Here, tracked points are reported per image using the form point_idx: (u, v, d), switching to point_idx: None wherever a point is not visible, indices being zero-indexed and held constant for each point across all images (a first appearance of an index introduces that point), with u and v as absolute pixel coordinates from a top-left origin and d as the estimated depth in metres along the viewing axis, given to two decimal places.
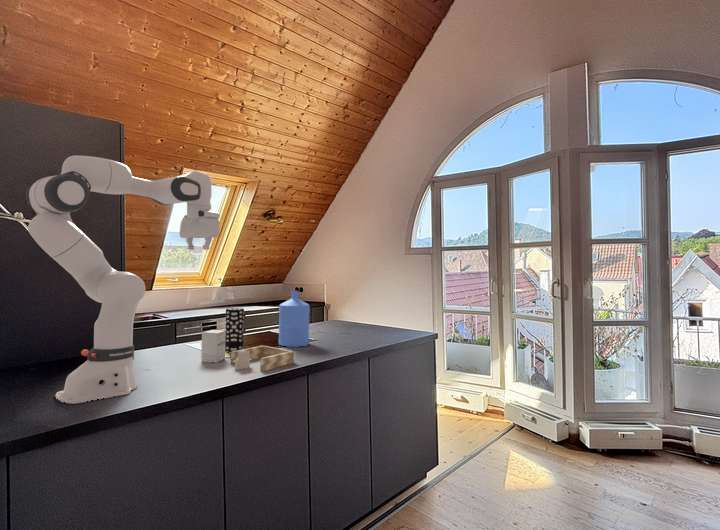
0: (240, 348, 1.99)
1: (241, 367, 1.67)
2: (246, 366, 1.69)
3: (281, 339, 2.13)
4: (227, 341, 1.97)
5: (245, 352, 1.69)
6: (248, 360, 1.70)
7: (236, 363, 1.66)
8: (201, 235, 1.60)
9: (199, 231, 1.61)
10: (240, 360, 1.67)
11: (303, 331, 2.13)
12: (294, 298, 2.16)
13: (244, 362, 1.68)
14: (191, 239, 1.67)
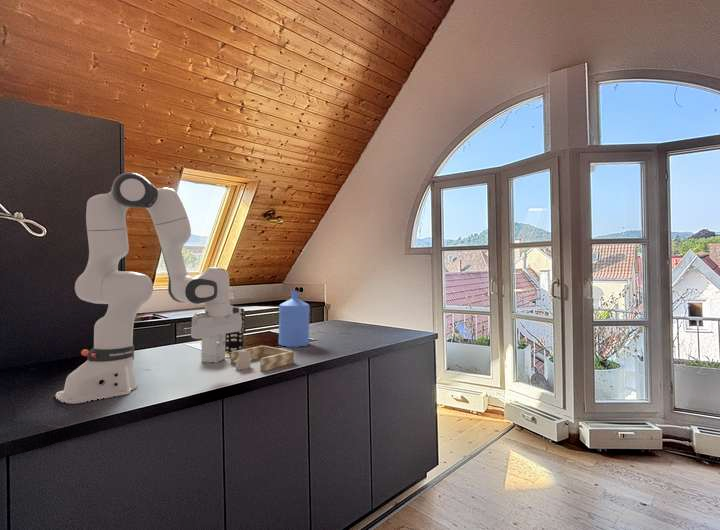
0: (240, 348, 1.99)
1: (242, 367, 1.67)
2: (247, 366, 1.69)
3: (281, 339, 2.13)
4: (227, 341, 1.97)
5: (246, 352, 1.69)
6: (249, 360, 1.70)
7: (237, 363, 1.66)
8: (229, 331, 1.61)
9: (226, 327, 1.60)
10: (241, 360, 1.67)
11: (303, 331, 2.13)
12: (294, 298, 2.16)
13: (245, 362, 1.68)
14: None
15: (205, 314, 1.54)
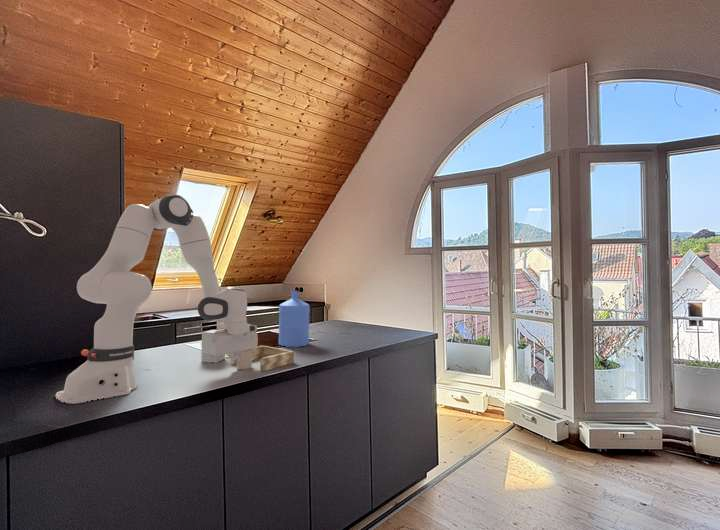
0: None
1: (243, 367, 1.67)
2: (248, 366, 1.69)
3: (281, 339, 2.13)
4: None
5: (247, 352, 1.69)
6: (250, 360, 1.70)
7: (238, 363, 1.67)
8: (246, 348, 1.68)
9: (243, 345, 1.67)
10: (242, 360, 1.67)
11: (303, 331, 2.13)
12: (294, 298, 2.16)
13: (246, 362, 1.69)
14: None
15: (224, 332, 1.61)
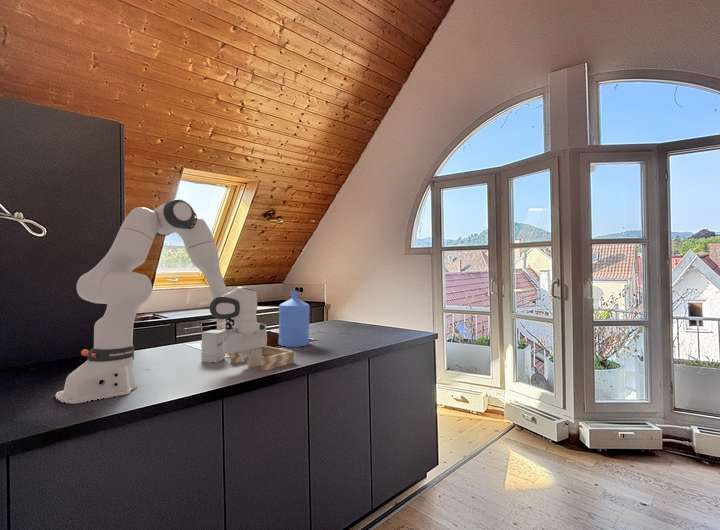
0: None
1: (253, 364, 1.72)
2: (258, 364, 1.73)
3: (281, 339, 2.13)
4: None
5: (257, 350, 1.73)
6: (260, 358, 1.74)
7: None
8: (256, 346, 1.72)
9: (253, 343, 1.71)
10: (252, 358, 1.71)
11: (303, 331, 2.13)
12: (294, 298, 2.16)
13: (256, 360, 1.73)
14: None
15: (235, 330, 1.65)
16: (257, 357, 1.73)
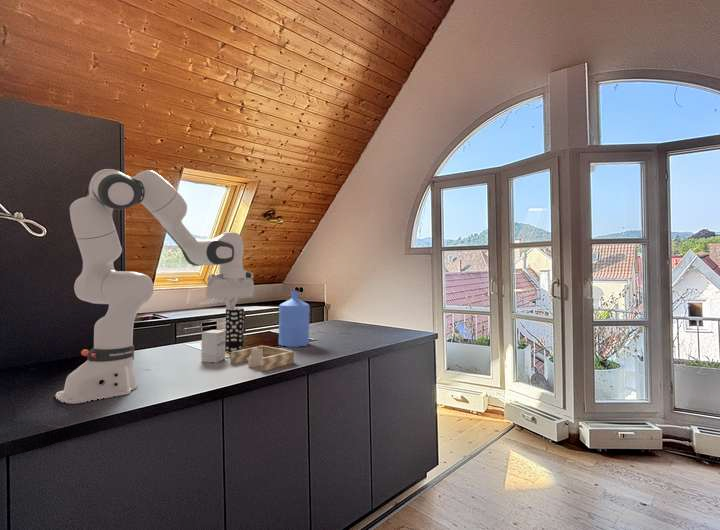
0: (240, 348, 1.99)
1: (254, 364, 1.72)
2: (259, 364, 1.73)
3: (281, 339, 2.13)
4: (227, 341, 1.97)
5: (258, 350, 1.73)
6: None
7: (249, 361, 1.71)
8: (242, 295, 1.67)
9: (239, 291, 1.66)
10: (253, 358, 1.71)
11: (303, 331, 2.13)
12: (294, 298, 2.16)
13: (257, 360, 1.73)
14: None
15: (220, 276, 1.60)
16: (258, 357, 1.73)
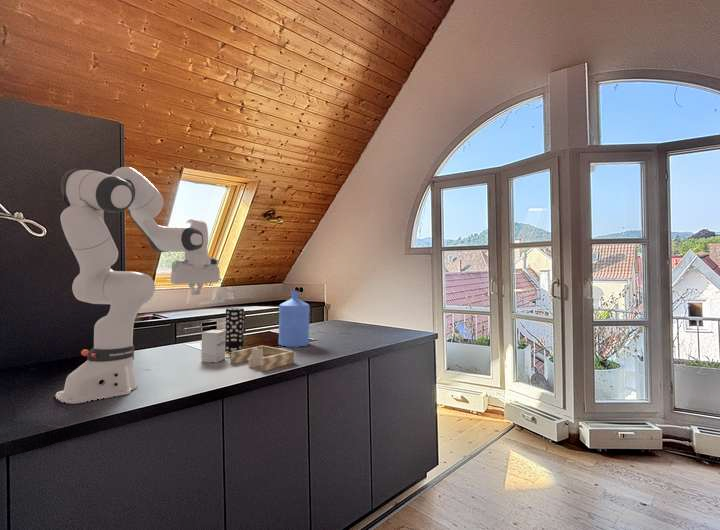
0: (240, 348, 1.99)
1: (254, 364, 1.72)
2: (259, 364, 1.73)
3: (281, 339, 2.13)
4: (227, 341, 1.97)
5: (258, 350, 1.73)
6: None
7: (250, 361, 1.71)
8: (207, 281, 1.72)
9: (204, 277, 1.71)
10: (253, 358, 1.71)
11: (303, 331, 2.13)
12: (294, 298, 2.16)
13: (257, 360, 1.73)
14: None
15: (184, 262, 1.65)
16: (258, 357, 1.73)
